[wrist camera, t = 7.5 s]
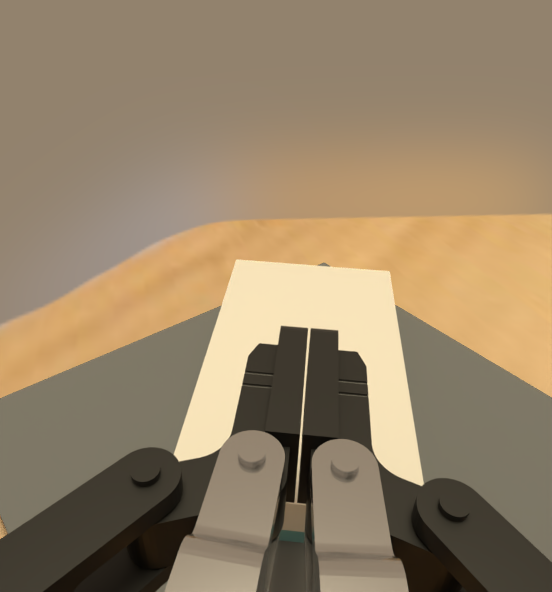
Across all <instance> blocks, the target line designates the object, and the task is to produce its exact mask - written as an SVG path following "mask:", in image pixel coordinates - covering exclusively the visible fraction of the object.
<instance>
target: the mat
mask: <svg viewBox="0 0 552 592" xmlns="http://www.w3.org/2000/svg"><path fill="white" fill-rule="evenodd" d="M317 266H327V267H331V266H329V265H327V264H326V263H322V264H320V265H317ZM395 308H396V314H397V321H398V327H399V333H400V339H401V345H402V352H403V358H404V364H405V370H406V376H407V383H408V389H409V395H410V401H411V407H412V414H413V420H414V426H415V432H416V438H417V445H418V451H419V457H420V463H421V469H422V476H423V482H424V484H425V483H426V482H428V481H430V480H432V479H436V478H449V479H454V480H457V481H460V482H462V483H464V484H466V485H468V486H469V487H471V488H472V489H474V490H475V491H476V492H477V493H478V494H479V495H480V496H482V497H483V498H484V499H485V500H486V501H487V502H488V503H489V504H490V505H491V506H492V507H493V508H494V509H495V510H496V511H498V512H499V513H500V514H501V515H502V516H503V517H504V518H505V519H506V520H507V521H508V522H509V523H510V524H511V525H513V526H514V527H515V528H516V529H517V530H518V531H519V532H520V533H521V534H522V535H523V536H524V537H525V538H526V539H528V540H529V541H530V542H531V543H532V544H533V545H534V546H535V547H536V548H537V549H538V550H539V551H540V552H541V553H543V554H544V555H545V556H546V557H547V558H548V559H549V560H550V561H551V562H552V398H551V397H550V396H548V395H546V394H545V393H543V392H541V391H540V390H538V389H536V388H535V387H533V386H531V385H530V384H528V383H526V382H525V381H523V380H521V379H519V378H518V377H516V376H514V375H513V374H511V373H509V372H508V371H506V370H504V369H503V368H501V367H499V366H498V365H496V364H494V363H492V362H491V361H489V360H487V359H486V358H484V357H482V356H481V355H479V354H477V353H476V352H474V351H472V350H471V349H469V348H467V347H466V346H464V345H462V344H460V343H459V342H457V341H455V340H454V339H452V338H450V337H449V336H447V335H445V334H444V333H442V332H440V331H439V330H437V329H435V328H434V327H432V326H430V325H428V324H427V323H425V322H423V321H422V320H420V319H418V318H417V317H415V316H413V315H412V314H410V313H408V312H407V311H405V310H403V309H402V308H400V307H398V306H396V305H395ZM220 309H221V306H219V307H217V308H215V309H212V310H210V311H207V312H205V313H203V314H200V315H198V316H196V317H193V318H191V319H188V320H186V321H184V322H181V323H179V324H176V325H174V326H172V327H169V328H167V329H164V330H162V331H160V332H157V333H155V334H153V335H150V336H148V337H145V338H143V339H141V340H138V341H136V342H133V343H131V344H129V345H126V346H124V347H122V348H119V349H117V350H114V351H112V352H110V353H107V354H105V355H102V356H100V357H98V358H95V359H93V360H90V361H88V362H86V363H83V364H81V365H79V366H76V367H74V368H71V369H69V370H67V371H64V372H62V373H59V374H57V375H55V376H52V377H50V378H48V379H45V380H43V381H40V382H38V383H36V384H33V385H31V386H28V387H26V388H24V389H21V390H19V391H16V392H14V393H12V394H9V395H7V396H5V397H2V398H0V516H1V518H2V520H3V523H4V525H5V528H6V530H7V533H8V534H9V533H10V532H12V531H13V530H15V529H16V528H18V527H19V526H21V525H22V524H24V523H25V522H27V521H28V520H30V519H31V518H33V517H34V516H36V515H37V514H39V513H40V512H42V511H43V510H45V509H46V508H48V507H49V506H51V505H52V504H54V503H55V502H57V501H58V500H60V499H61V498H63V497H64V496H66V495H67V494H69V493H70V492H72V491H73V490H75V489H76V488H78V487H79V486H81V485H82V484H84V483H85V482H87V481H88V480H90V479H91V478H93V477H94V476H96V475H97V474H99V473H100V472H102V471H103V470H105V469H106V468H108V467H109V466H111V465H112V464H114V463H115V462H117V461H118V460H120V459H121V458H123V457H124V456H126V455H128V454H129V453H131V452H133V451H136V450H138V449H142V448H147V447H157V448H162V449H165V450H167V451H169V452H171V453H172V454H173V455H174V452H175V449H176V446H177V443H178V440H179V436H180V433H181V430H182V427H183V424H184V421H185V418H186V415H187V412H188V409H189V405H190V402H191V399H192V396H193V393H194V390H195V387H196V384H197V381H198V377H199V374H200V371H201V368H202V365H203V362H204V359H205V356H206V353H207V349H208V346H209V343H210V340H211V337H212V334H213V331H214V328H215V325H216V322H217V318H218V315H219V312H220ZM167 583H168V581H167V582H166V583H165V584H164V585H162V586H161V587H160V588H159V589H158V590H157V591H156V592H165V589H166V586H167ZM270 592H305V587H304V543H300V542H291V541H282V540H279V544H278V550H277V555H276V561H275V567H274V572H273V578H272V583H271V589H270Z"/></svg>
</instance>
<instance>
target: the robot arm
mask: <svg viewBox="0 0 552 592" xmlns="http://www.w3.org/2000/svg"><path fill="white" fill-rule="evenodd" d="M307 338H308V328H303V327H292V326H281V328H280V334H279V341H278V345H274V344H262V343H259V344H258V345H257V346H256V347H255V349H254V350H253V351H252V352H251V353H250V354H249V355H248V359H247V364H246V369H245V374H244V378H243V382H242V387H241V392H240V396H239V401H238V405H237V410H236V415H235V419H234V424H233V428H232V432H231V435H230V437H229V438H228V439H227V440H226V441H225V443H224V444H223V445H222V447H221V448H220V449H218V450H217V451H215V452H213V453H212V454H209V455H207V456H204V457H200V458H195V459H189V460H184V461H178V459H177V458H176V457H175V455H173V454H172V453H171V452H169V451H167V450H165V449H162V448H157V447H147V448H142V449H138V450H136V451H133V452H131V453H129V454H128V455H126V456H124V457H123V458H121V459H120V460H118V461H117V462H115V463H114V464H112V465H111V466H109V467H108V468H106V469H105V470H103V471H102V472H100V473H99V474H97V475H96V476H94V477H93V478H91V479H90V480H88V481H87V482H85V483H84V484H82V485H81V486H79V487H78V488H76V489H75V490H73V491H72V492H70V493H69V494H67V495H66V496H64V497H63V498H61V499H60V500H58V501H57V502H55V503H54V504H52V505H51V506H49V507H48V508H46V509H45V510H43V511H42V512H40V513H39V514H37V515H36V516H34V517H33V518H31V519H30V520H28V521H27V522H25V523H24V524H22V525H21V526H19V527H18V528H16V529H15V530H13V531H12V532H10V533H9V534H7V535H6V536H4V537H3V538H1V539H0V592H156V591H157V590H158V589H159V588H160V587H161V586H162V585H164V584H165V583H166V582H167V581H168V583H167V586H166V589H165V592H270V589H271V583H272V578H273V572H274V567H275V561H276V555H277V550H278V544H279V539H280V531H281V530H282V527H283V523H284V515H285V505H286V502H291V503H294V500H295V488H296V477H297V465H298V453H299V442H300V429H301V416H302V403H303V390H304V377H305V364H306V351H307ZM367 382H368V381H367V367H366V365H365V363H364V361H363V360H362V358H361V357H360V355H359V354H358V352H355V351H344V350H338V330H328V329H317V328H311V330H310V341H309V353H308V364H307V376H306V388H305V402H304V415H303V429H302V443H301V457H300V471H299V485H298V499H297V503H302V504H306V514H305V527H304V538H303V542H304V587H305V592H552V562H551V561H550V560H549V559H548V558H547V557H546V556H545V555H544V554H543V553H541V552H540V551H539V550H538V549H537V548H536V547H535V546H534V545H533V544H532V543H531V542H530V541H529V540H528V539H526V538H525V537H524V536H523V535H522V534H521V533H520V532H519V531H518V530H517V529H516V528H515V527H514V526H513V525H511V524H510V523H509V522H508V521H507V520H506V519H505V518H504V517H503V516H502V515H501V514H500V513H499V512H498V511H496V510H495V509H494V508H493V507H492V506H491V505H490V504H489V503H488V502H487V501H486V500H485V499H484V498H483V497H482V496H480V495H479V494H478V493H477V492H476V491H475V490H474V489H472V488H471V487H469V486H468V485H466V484H464V483H462V482H460V481H457V480H454V479H449V478H436V479H432V480H430V481H428V482H426V483H425V484H423V485H422V486H420V485H418V484H415V483H413V482H410V481H408V480H405V479H402V478H400V477H398V476H396V475H394V474H393V473H391V472H390V471H388V470H387V469H386V468H385V467H384V466H383V465H382V464H381V463H380V462H379V461H378V459H377V458H376V456H375V454H374V451H373V448H372V439H371V425H370V410H369V398H368V385H367Z"/></svg>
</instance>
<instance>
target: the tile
mask: <svg viewBox="0 0 552 592" xmlns="http://www.w3.org/2000/svg"><path fill="white" fill-rule="evenodd" d="M281 326H292V327H303V328H308V338H307V351H306V364H305V377H304V390H303V403H302V416H301V429H300V442H299V453H298V465H297V477H296V488H295V500H294V503H291V502H286V505H285V515H284V523H283V527H282V530H281V531H280V539H279V540H282V541H291V542H300V543H304V542H303V538H304V527H305V514H306V504H302V503H297V499H298V485H299V471H300V457H301V443H302V429H303V415H304V402H305V388H306V376H307V364H308V353H309V341H310V330H311V328H317V329H328V330H338V350H344V351H355V352H358V354H359V355H360V357H361V358H362V360H363V361H364V363H365V365H366V367H367V381H368V382H367V385H368V398H369V410H370V425H371V439H372V448H373V451H374V454H375V456H376V458H377V459H378V461H379V462H380V463H381V464H382V465H383V466H384V467H385V468H386V469H387V470H388V471H390V472H391V473H393V474H394V475H396V476H398V477H400V478H402V479H405V480H408V481H410V482H413V483H415V484H418V485H420V486H422V485H423V484H424V482H423V476H422V469H421V463H420V457H419V451H418V445H417V438H416V432H415V426H414V420H413V414H412V407H411V401H410V395H409V389H408V383H407V376H406V370H405V364H404V358H403V352H402V345H401V339H400V333H399V327H398V321H397V314H396V308H395V302H394V296H393V290H392V283H391V277H390V271H379V270H366V269H353V268H340V267H327V266H314V265H301V264H289V263H276V262H263V261H250V260H237V259H236V262H235V266H234V269H233V272H232V275H231V278H230V281H229V284H228V287H227V290H226V294H225V297H224V300H223V303H222V306H221V309H220V312H219V315H218V318H217V322H216V325H215V328H214V331H213V334H212V337H211V340H210V343H209V346H208V349H207V353H206V356H205V359H204V362H203V365H202V368H201V371H200V374H199V377H198V381H197V384H196V387H195V390H194V393H193V396H192V399H191V402H190V405H189V409H188V412H187V415H186V418H185V421H184V424H183V427H182V430H181V433H180V436H179V440H178V443H177V446H176V449H175V452H174V455H175V457H176V458H177V459H178V461H184V460H189V459H195V458H200V457H204V456H207V455H209V454H212V453H213V452H215V451H217V450H218V449H220V448H221V447H222V445H223V444H224V443H225V441H226V440H227V439H228V438H229V437H230V435H231V432H232V428H233V424H234V419H235V415H236V410H237V405H238V401H239V396H240V392H241V387H242V382H243V378H244V374H245V369H246V364H247V359H248V355H249V354H250V353H251V352H252V351H253V350H254V349H255V347H256V346H257V345H258V344H259V343H262V344H274V345H278V341H279V334H280V328H281Z"/></svg>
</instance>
